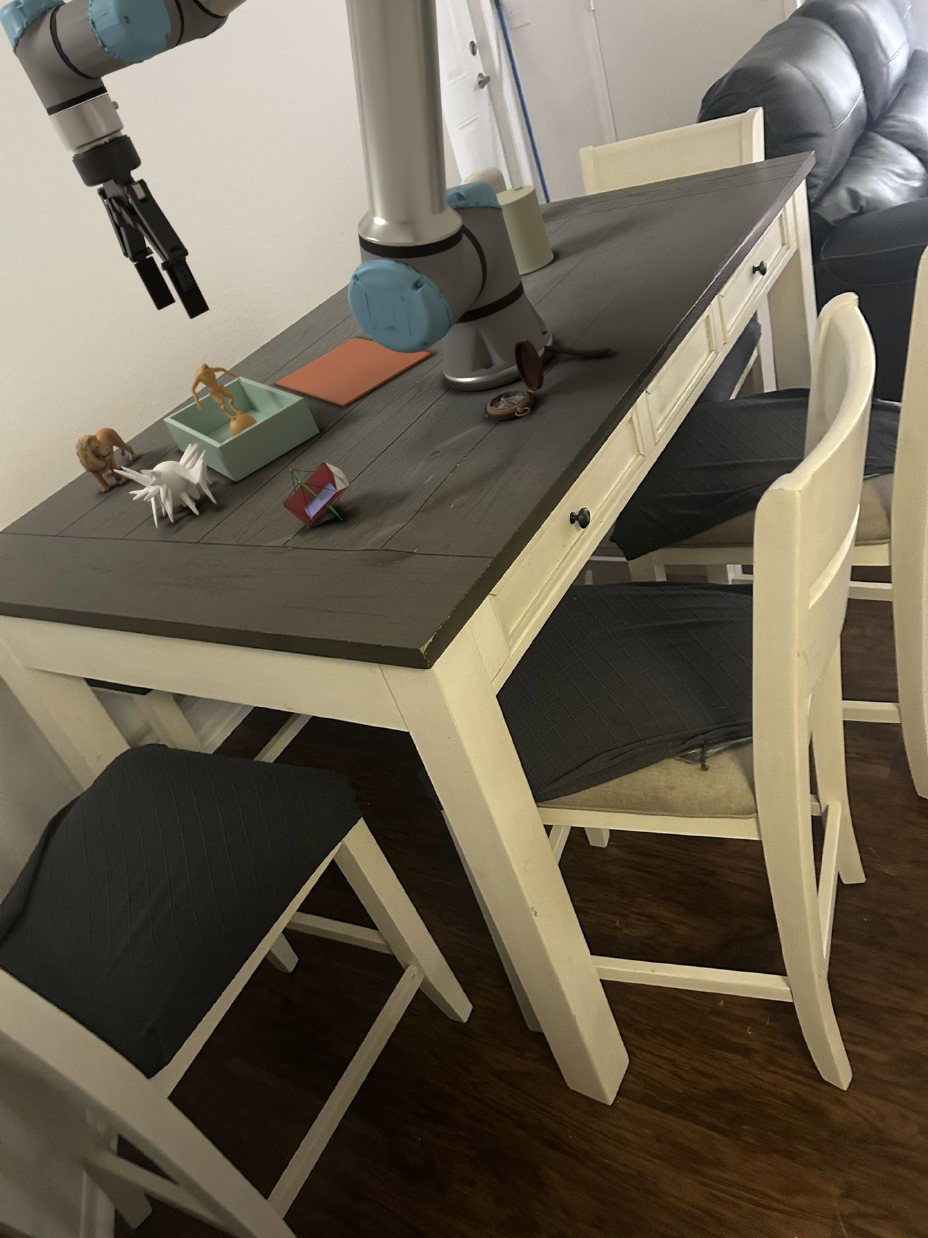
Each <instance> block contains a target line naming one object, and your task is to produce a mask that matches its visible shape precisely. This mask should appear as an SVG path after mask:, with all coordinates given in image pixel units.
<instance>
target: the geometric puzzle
mask: <svg viewBox="0 0 928 1238" xmlns="http://www.w3.org/2000/svg"><path fill="white" fill-rule="evenodd" d="M317 464H318V462H317V463H316V462H315V465H317ZM313 465H314V463H312V464H311V466H313ZM300 468H303V466H302V467H301V466H300ZM297 469H298V470H297ZM289 472H290V473H289V474H290V475H289V476H288V478H290V476H291V479H292V483H293V490H292V492H291V493H290V494H289V496H288V497H287V499H286V500H284V501H283V502H282V504H281V505H282V507H284V508H285V509H286V510H288V511H289V512H290V513H291V514H293V515H294V516H295V517H296V518H297V519H298V520H300V521H301V522H302V523H303V524H304V525H305V526H306V527H307V528H308V529H310V528H312V527H314V524H315V523H317V521H318V520H320V519H322V517H323V516H324V515H325V514H326V513H327V512H329V511H330V510H331V511H332V512H333V514H335V515H336V516H337V517H338V518H336V522H337V521H343V517H344V516H343V515H339V513H340V514H342V512H343V513H344V510H343V511H342V512H341V509H339V513H338V512H337V511H336V509H335V508H334V506H335V505H336V502H340V498H341V497H342V495H344V493H345V491H346V490H347V491H349V488H350V486H351V484H350V483H349V482H348V479H347V477H346V475H345V474H344V472H343V471H342V469H340V468H339V467H337V466H334V465H332V464H330V463H328V462H327V461H325V460H323V461H321V462H319V465H318V466H317V467H314V469H313V470H311V471H310V470H304V472H308V474H307V475H305V477H304V478H301V477H299V476H298V475H297V474H296V473H295V472H300V470H299V467H297V468H296V469H295V468H294V469H289ZM293 476H294V477H295V479H296V480H297V481H298V483H297V485H296V486H295V480H294V477H293ZM308 476H309V477H308ZM307 477H308V478H307ZM304 479H306V480H305V481H304ZM289 480H290V479H288V480H287V482H289ZM288 484H289V483H287V484H286V485H287V486H288ZM299 485H300V486H299ZM298 486H299V487H298ZM297 487H298V488H297ZM287 489H288V488H286V489H285V491H287ZM296 489H297V490H296ZM284 493H285V495H286V493H287V492H284ZM347 495H348V492H347ZM285 498H286V496H284V498H283V499H285ZM347 499H348V497H346V498H345V500H347ZM346 503H347V501H345V503H344V504H346ZM338 507H339V508H341V505H340V503H338ZM343 509H345V506H344V507H343ZM334 522H335V520H334V521H333V520H332V521H331V523H334ZM329 523H330V521H329V522H327V524H329ZM325 524H326V523H325V522H324V523H323V525H325ZM320 525H322V524H319V526H320ZM315 526H316V527H317V526H318V524H316V525H315Z"/></svg>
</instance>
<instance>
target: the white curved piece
mask: <svg viewBox="0 0 928 1238" xmlns="http://www.w3.org/2000/svg"><path fill="white" fill-rule="evenodd" d="M479 181H484V182H487V183H489V184H491V185H492V187H493V188H494V190H495V193H496V194H498V193H501V192H503V191H506V190H508V189H507V188H508V187H507V184H506V180H505V177H504V175H503V173H502V171H501V169H499V167H496V166H489V167H483V168H480V169H478V170H476V171H474V172H471V173H470V174H469V175H468V176H466V177H465V178H464V179H463V180H462V181H461V182H460V184H459V185H458V186H460V185H464V184H468V183H473V182H479Z"/></svg>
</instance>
